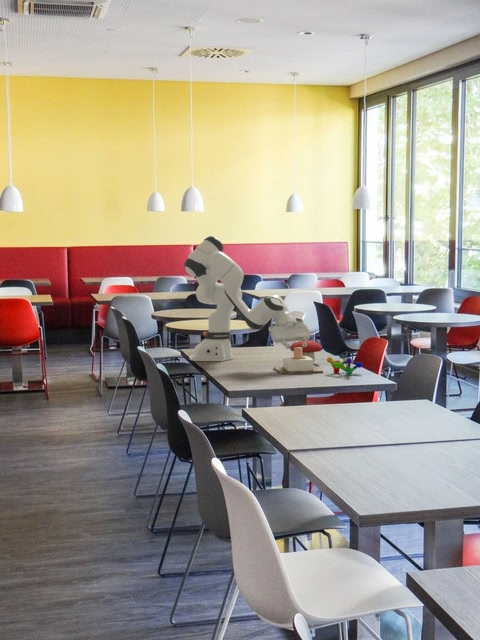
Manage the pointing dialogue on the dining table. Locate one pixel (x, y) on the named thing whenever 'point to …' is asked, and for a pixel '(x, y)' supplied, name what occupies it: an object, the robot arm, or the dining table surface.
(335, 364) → the decorative model
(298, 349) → the peg
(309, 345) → the mushroom
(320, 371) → the base board
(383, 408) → the dining table surface
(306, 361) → the socket block
